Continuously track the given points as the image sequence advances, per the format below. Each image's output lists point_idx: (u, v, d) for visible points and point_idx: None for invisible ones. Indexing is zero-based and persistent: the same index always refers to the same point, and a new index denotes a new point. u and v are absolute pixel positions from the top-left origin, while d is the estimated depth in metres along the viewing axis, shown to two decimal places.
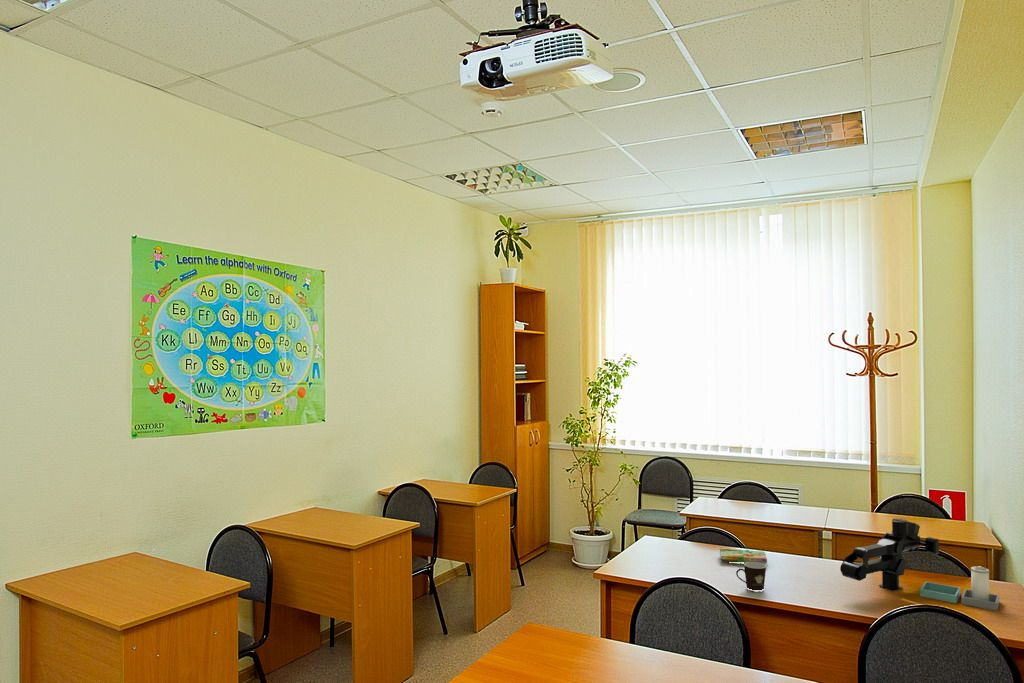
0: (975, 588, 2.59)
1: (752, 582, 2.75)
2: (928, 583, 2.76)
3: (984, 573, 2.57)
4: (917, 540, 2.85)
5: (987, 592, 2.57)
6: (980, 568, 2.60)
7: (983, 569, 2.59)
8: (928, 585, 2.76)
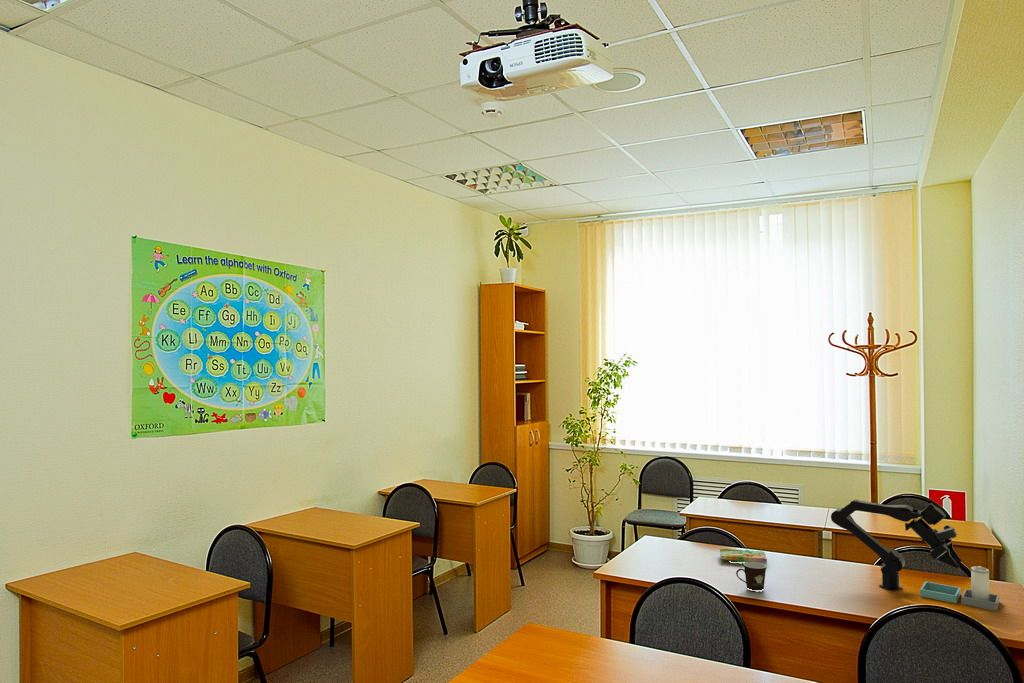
0: (975, 588, 2.59)
1: (752, 582, 2.75)
2: (928, 583, 2.76)
3: (984, 573, 2.57)
4: (938, 541, 2.67)
5: (987, 592, 2.57)
6: (980, 568, 2.60)
7: (983, 569, 2.59)
8: (928, 585, 2.76)
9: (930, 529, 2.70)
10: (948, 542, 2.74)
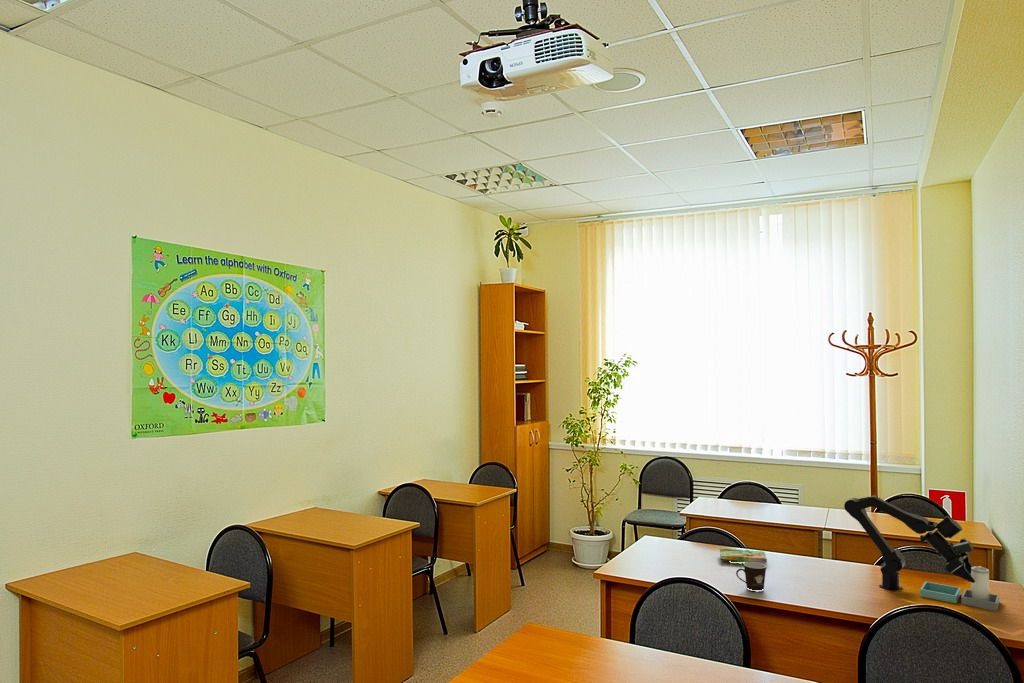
0: (975, 588, 2.59)
1: (752, 582, 2.75)
2: (928, 583, 2.76)
3: (984, 573, 2.57)
4: (954, 555, 2.63)
5: (987, 592, 2.57)
6: (980, 568, 2.60)
7: (983, 569, 2.59)
8: (928, 585, 2.76)
9: (946, 542, 2.66)
10: (964, 555, 2.70)
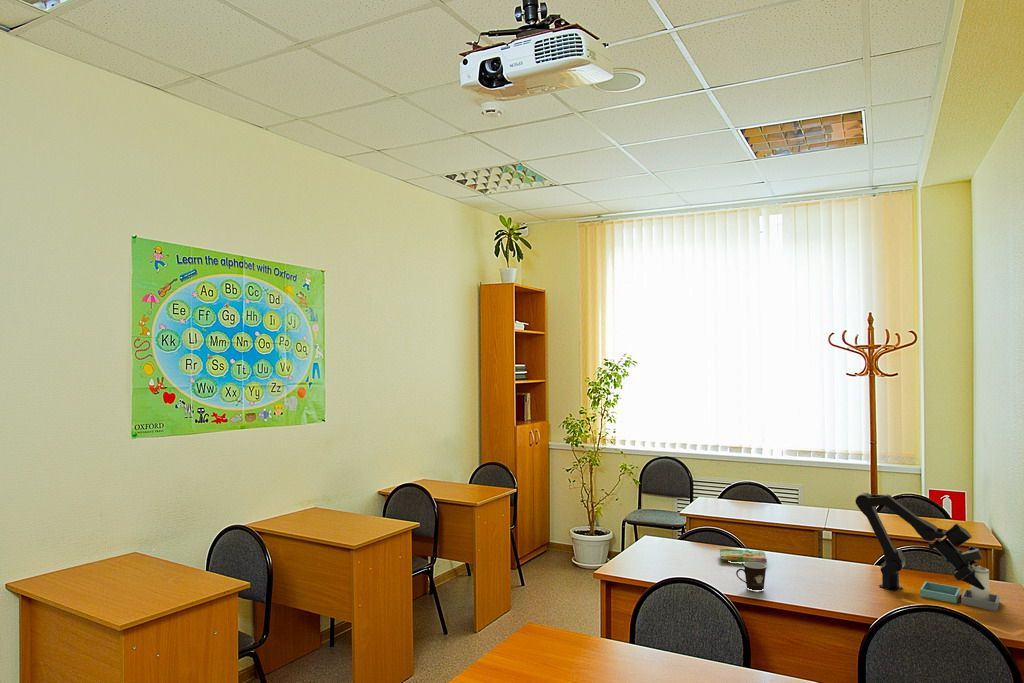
0: (975, 588, 2.59)
1: (752, 582, 2.75)
2: (928, 583, 2.76)
3: (984, 573, 2.57)
4: (963, 563, 2.62)
5: (987, 592, 2.57)
6: (980, 568, 2.60)
7: (983, 569, 2.59)
8: (928, 585, 2.76)
9: (955, 550, 2.64)
10: (973, 563, 2.68)
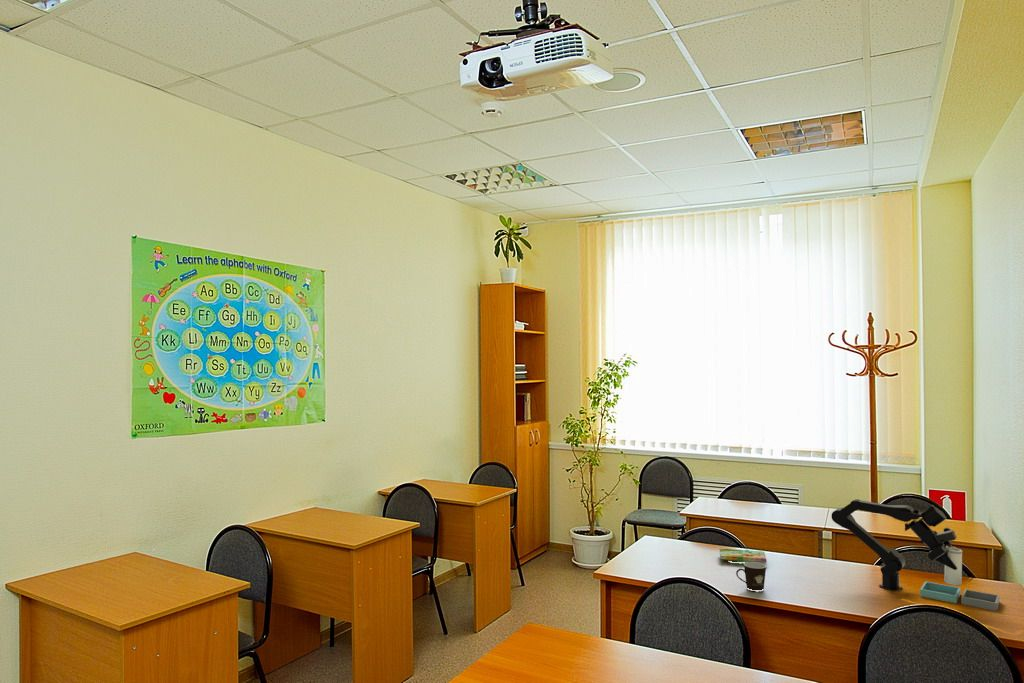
0: (948, 568, 2.65)
1: (752, 582, 2.75)
2: (928, 583, 2.76)
3: (957, 553, 2.63)
4: (937, 543, 2.67)
5: (959, 572, 2.63)
6: (954, 548, 2.65)
7: (956, 549, 2.64)
8: (928, 585, 2.76)
9: (930, 530, 2.70)
10: (947, 544, 2.73)
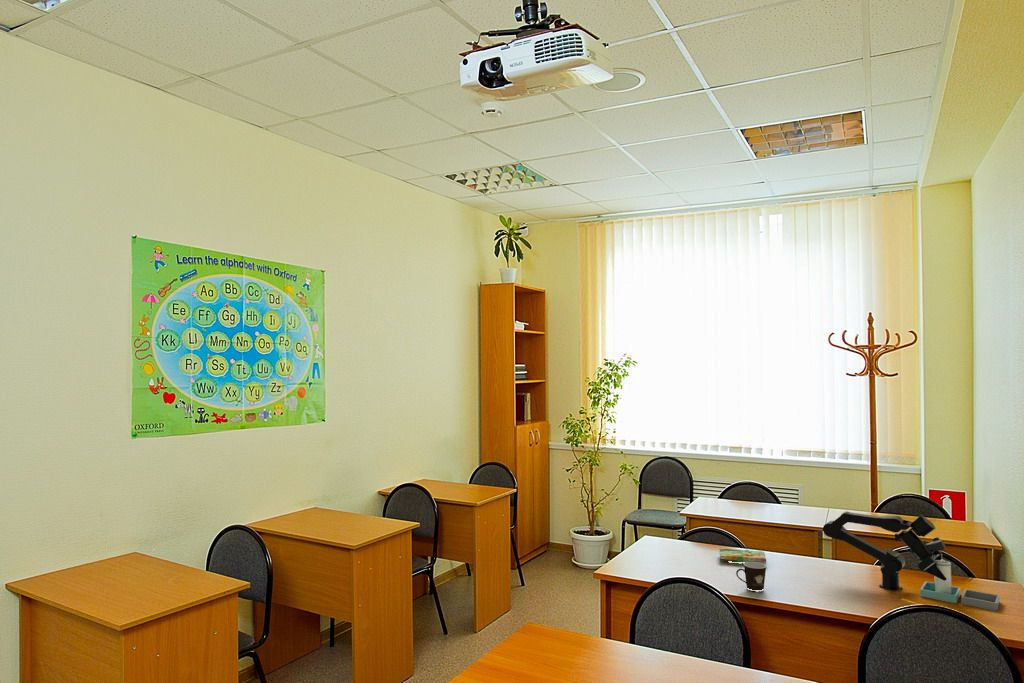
0: (937, 581, 2.67)
1: (752, 582, 2.75)
2: (928, 583, 2.76)
3: (946, 565, 2.66)
4: (926, 553, 2.69)
5: (949, 584, 2.65)
6: (942, 561, 2.68)
7: (945, 562, 2.67)
8: (928, 585, 2.76)
9: (919, 541, 2.72)
10: (937, 554, 2.76)
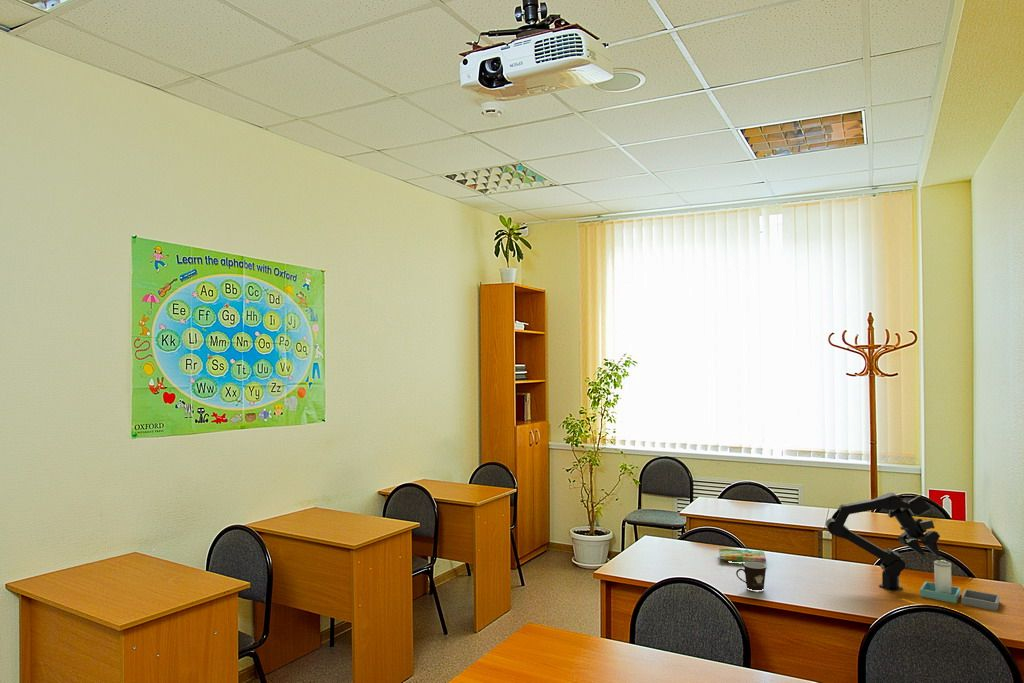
0: (938, 582, 2.67)
1: (752, 582, 2.75)
2: (928, 583, 2.76)
3: (946, 566, 2.65)
4: (921, 531, 2.75)
5: (949, 585, 2.65)
6: (942, 562, 2.67)
7: (945, 563, 2.66)
8: (928, 585, 2.76)
9: None
10: None
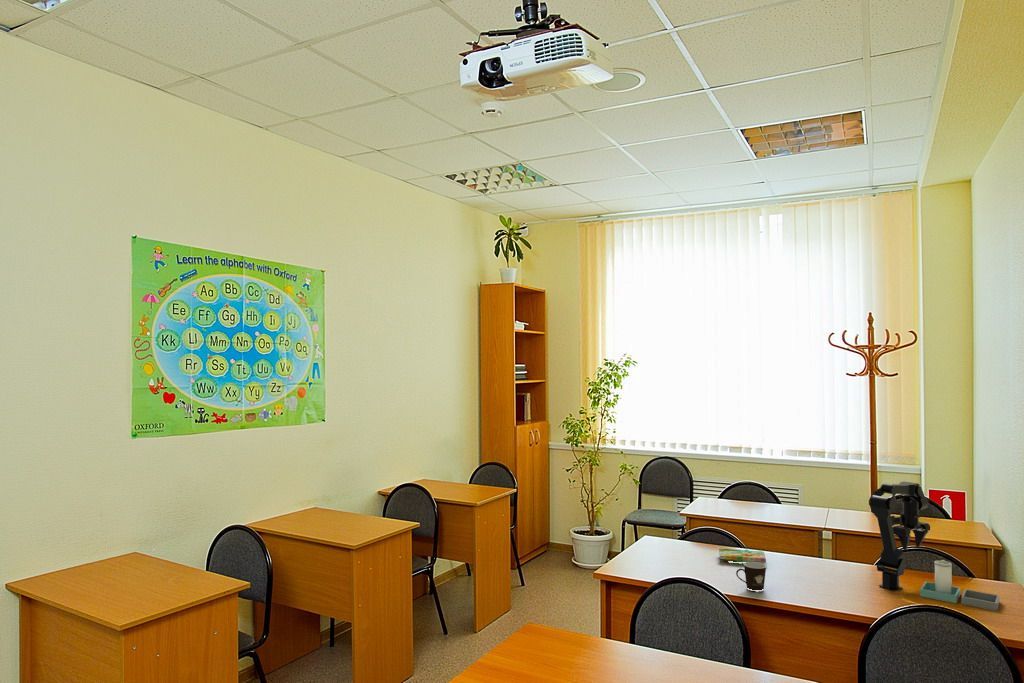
0: (938, 582, 2.67)
1: (752, 582, 2.75)
2: (928, 583, 2.76)
3: (947, 566, 2.65)
4: None
5: (949, 585, 2.65)
6: (943, 562, 2.67)
7: (946, 563, 2.66)
8: (928, 585, 2.76)
9: None
10: None
